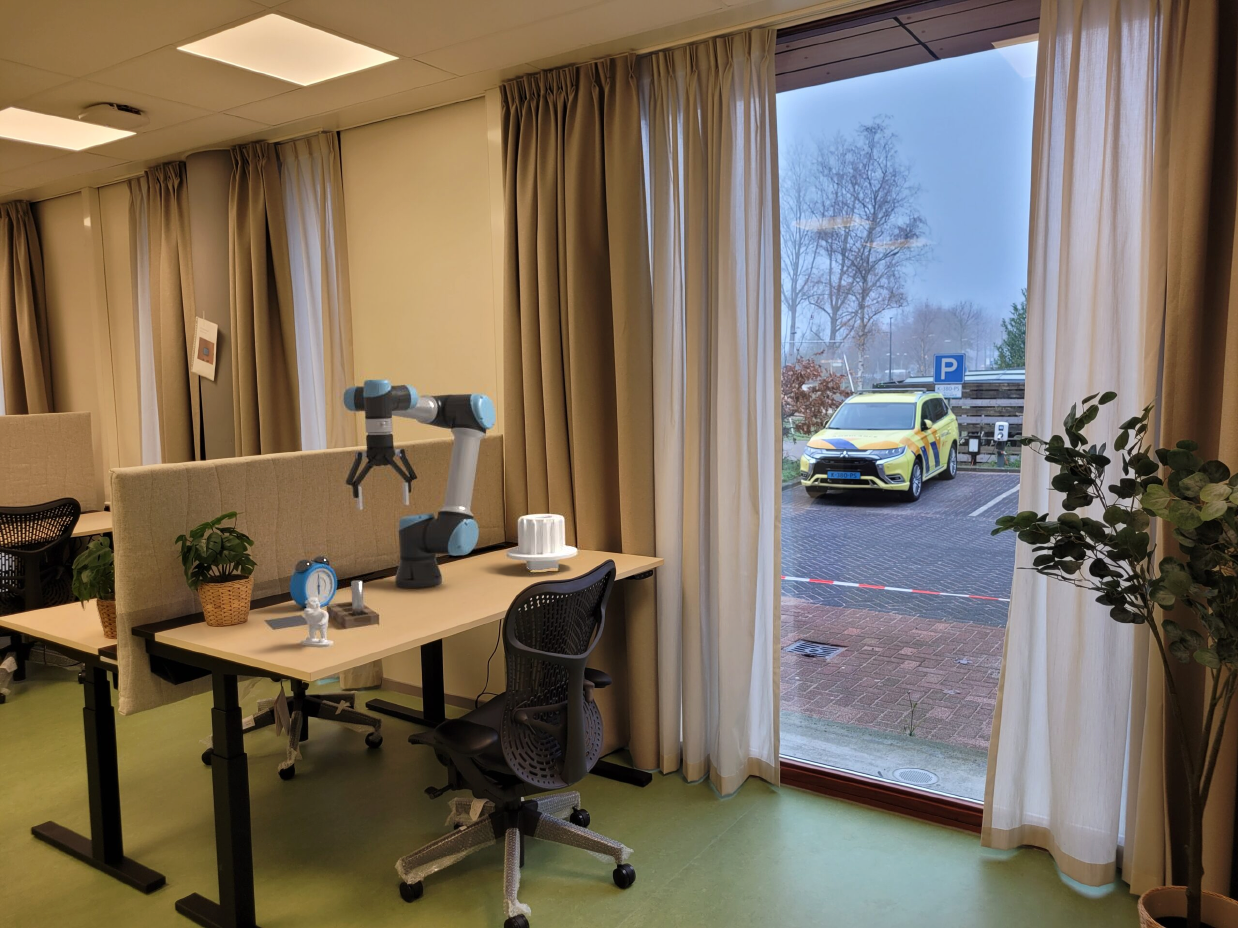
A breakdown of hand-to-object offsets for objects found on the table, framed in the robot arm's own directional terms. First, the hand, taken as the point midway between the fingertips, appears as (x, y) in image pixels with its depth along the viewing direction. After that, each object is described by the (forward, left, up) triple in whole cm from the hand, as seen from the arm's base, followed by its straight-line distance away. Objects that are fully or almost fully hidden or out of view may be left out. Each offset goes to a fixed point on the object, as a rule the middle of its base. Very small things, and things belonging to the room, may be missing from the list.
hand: (383, 506), depth 262 cm
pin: (+10, -11, -31) cm, 34 cm away
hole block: (+4, -11, -31) cm, 33 cm away
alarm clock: (-18, -16, -31) cm, 39 cm away
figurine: (+23, -26, -31) cm, 47 cm away
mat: (-3, -27, -31) cm, 41 cm away
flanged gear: (-27, +65, -31) cm, 76 cm away
